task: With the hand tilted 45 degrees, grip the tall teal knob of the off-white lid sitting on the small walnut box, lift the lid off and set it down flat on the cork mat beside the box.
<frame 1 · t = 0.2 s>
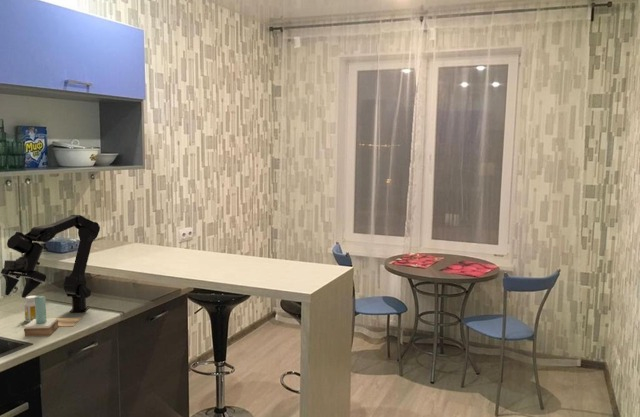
hand: (14, 296, 203), 15 cm above the countertop, tool tilted 30°, fingers open, 9 cm apart
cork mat: (64, 322, 218), on the countertop
walnut box: (41, 331, 207), on the countertop
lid: (41, 324, 207), point 3 cm above the countertop, touching walnut box
supplement bottle: (32, 320, 221), on the countertop
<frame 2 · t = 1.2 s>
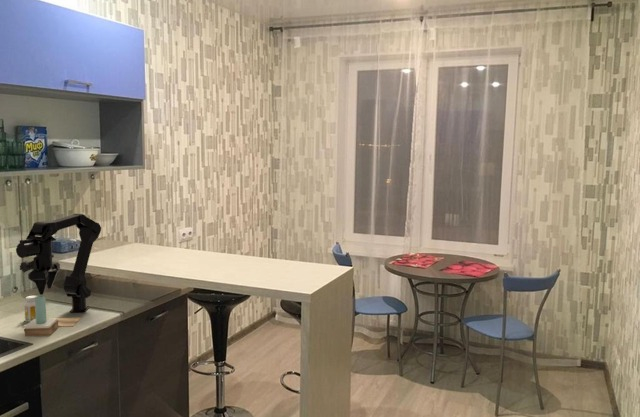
hand: (45, 291, 216), 13 cm above the countertop, tool pointing down, fingers open, 9 cm apart
nothing on the countertop moved.
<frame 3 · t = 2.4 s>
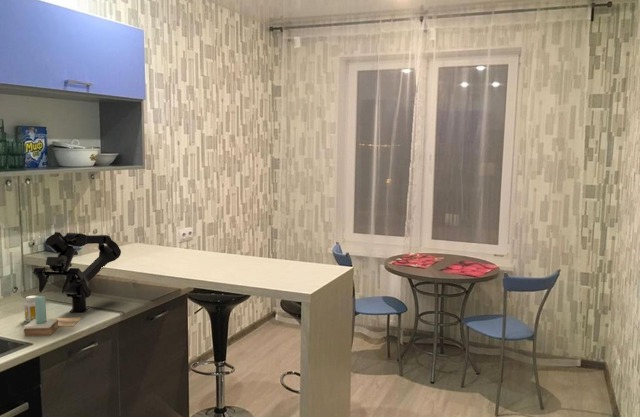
hand: (51, 292, 213), 13 cm above the countertop, tool tilted 45°, fingers open, 9 cm apart
nothing on the countertop moved.
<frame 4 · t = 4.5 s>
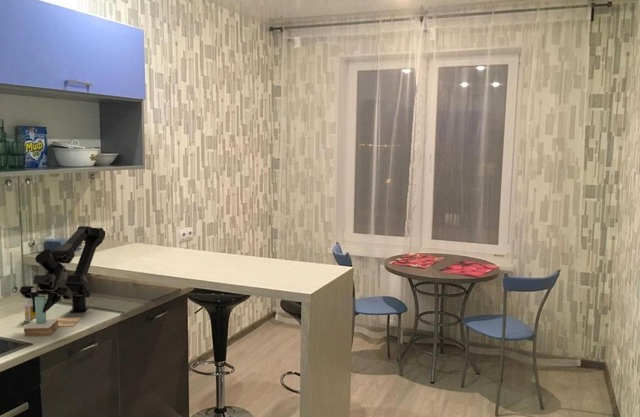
hand: (38, 312, 205), 8 cm above the countertop, tool tilted 45°, fingers closed on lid, 4 cm apart
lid: (41, 324, 207), point 3 cm above the countertop, touching gripper, walnut box
everything else where it was.
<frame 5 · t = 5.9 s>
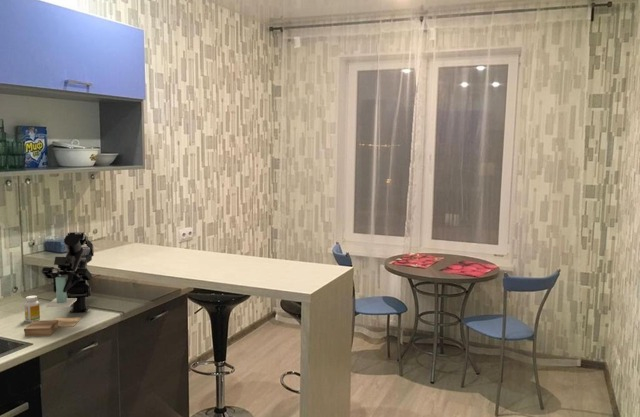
hand: (59, 291, 214), 13 cm above the countertop, tool tilted 45°, fingers closed on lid, 4 cm apart
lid: (61, 303, 217), point 8 cm above the countertop, touching gripper
everything else where it was.
when the fingers open (7 cm above the countertop, at t = 7.3 s): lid drops 2 cm, resting on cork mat.
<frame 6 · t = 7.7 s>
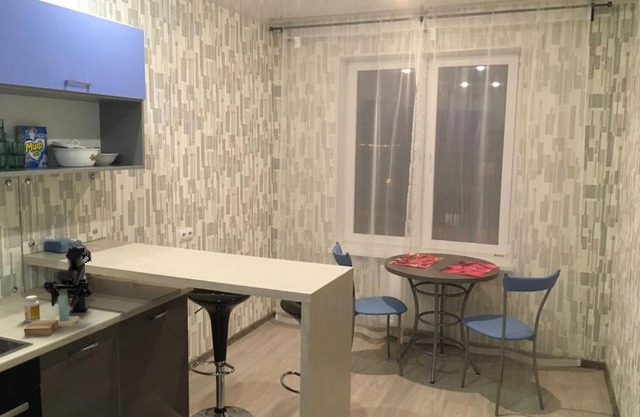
hand: (61, 306, 215), 7 cm above the countertop, tool tilted 45°, fingers open, 7 cm apart
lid: (64, 321, 218), resting on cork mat
everything else where it was.
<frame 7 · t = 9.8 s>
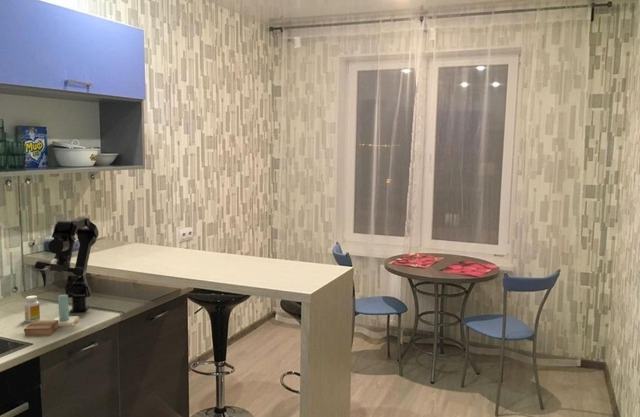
hand: (56, 288, 219), 13 cm above the countertop, tool pointing down, fingers open, 9 cm apart
nothing on the countertop moved.
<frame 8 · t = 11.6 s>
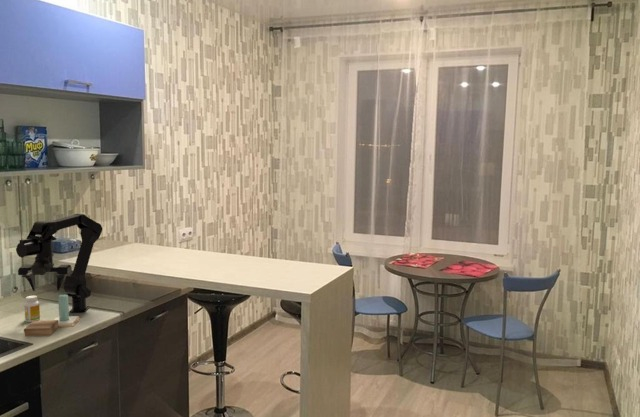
hand: (46, 290, 217), 13 cm above the countertop, tool pointing down, fingers open, 9 cm apart
nothing on the countertop moved.
at the end: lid inside the target area (0.1 cm from its centre), resting on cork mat; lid tilted 0°; the gripper is holding nothing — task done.
